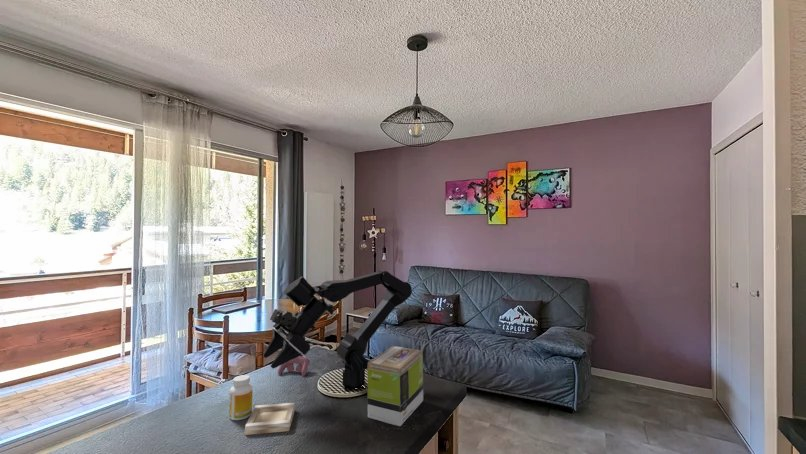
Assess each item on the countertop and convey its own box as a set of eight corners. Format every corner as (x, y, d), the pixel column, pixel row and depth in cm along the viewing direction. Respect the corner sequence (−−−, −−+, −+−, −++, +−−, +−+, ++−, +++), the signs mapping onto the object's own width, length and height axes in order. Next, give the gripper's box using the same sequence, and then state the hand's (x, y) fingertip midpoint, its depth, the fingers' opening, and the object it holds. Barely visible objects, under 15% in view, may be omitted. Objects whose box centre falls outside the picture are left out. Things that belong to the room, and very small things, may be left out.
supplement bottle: (256, 412, 89) (257, 375, 90) (240, 422, 84) (241, 383, 85) (240, 408, 91) (241, 372, 91) (224, 418, 86) (225, 380, 86)
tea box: (393, 394, 100) (393, 344, 101) (424, 401, 96) (424, 349, 97) (366, 418, 87) (366, 360, 87) (400, 428, 83) (401, 367, 83)
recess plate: (294, 410, 91) (294, 402, 91) (289, 431, 81) (289, 422, 81) (255, 413, 89) (255, 405, 89) (244, 435, 79) (244, 426, 79)
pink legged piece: (308, 377, 116) (312, 355, 119) (304, 376, 112) (308, 353, 115) (281, 375, 117) (285, 354, 120) (275, 374, 113) (280, 352, 116)
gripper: (280, 294, 103) (240, 335, 97) (299, 304, 88) (252, 354, 81) (305, 316, 107) (268, 358, 101) (327, 330, 92) (284, 380, 85)
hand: (267, 362), depth 92 cm, fingers open, 9 cm apart
